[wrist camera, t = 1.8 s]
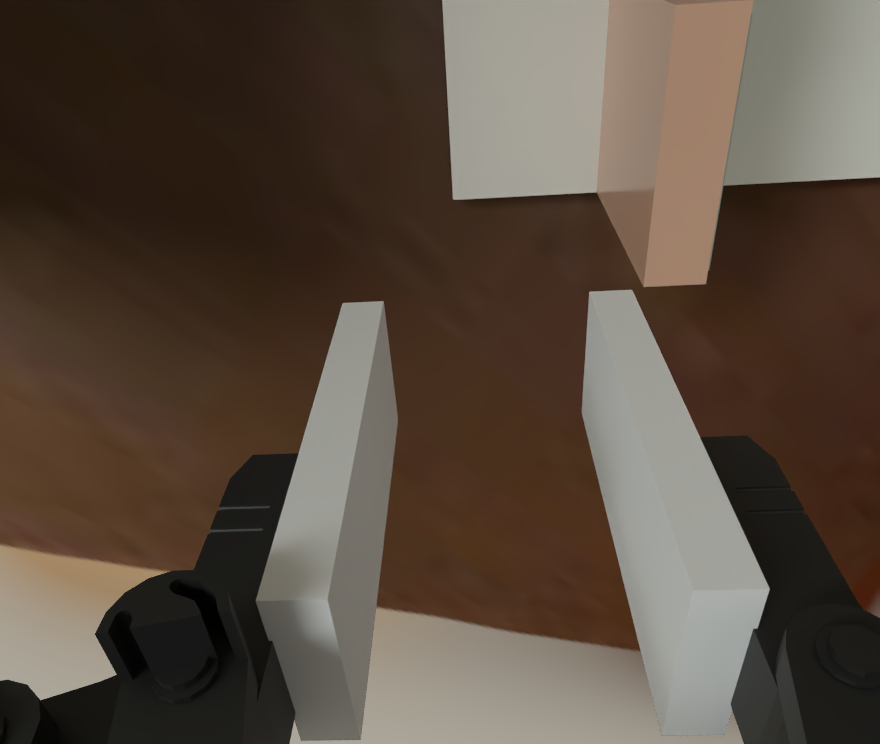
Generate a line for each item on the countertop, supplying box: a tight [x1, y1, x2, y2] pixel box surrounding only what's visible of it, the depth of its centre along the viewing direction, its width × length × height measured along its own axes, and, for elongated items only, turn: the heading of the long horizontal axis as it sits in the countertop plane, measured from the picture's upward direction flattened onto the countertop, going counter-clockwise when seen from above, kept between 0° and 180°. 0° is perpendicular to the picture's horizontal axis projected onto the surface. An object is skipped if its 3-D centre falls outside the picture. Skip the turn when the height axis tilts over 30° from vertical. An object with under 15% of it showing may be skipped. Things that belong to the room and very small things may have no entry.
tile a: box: [597, 0, 753, 287], centre depth 26 cm, size 2×9×10 cm, turn 4°
